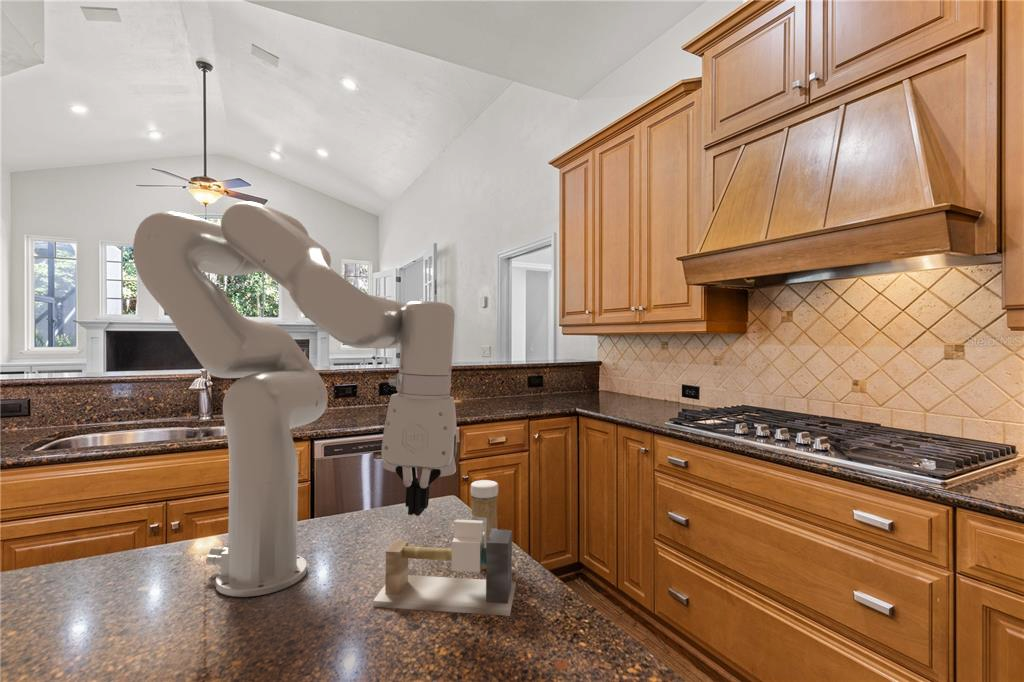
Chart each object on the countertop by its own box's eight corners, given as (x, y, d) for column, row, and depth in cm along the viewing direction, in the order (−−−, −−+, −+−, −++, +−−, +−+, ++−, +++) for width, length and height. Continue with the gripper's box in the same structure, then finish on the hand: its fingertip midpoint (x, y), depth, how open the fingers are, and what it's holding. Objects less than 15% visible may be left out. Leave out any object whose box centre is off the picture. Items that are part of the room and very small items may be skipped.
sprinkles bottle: (502, 566, 81) (503, 484, 81) (478, 573, 78) (479, 488, 78) (488, 556, 84) (489, 477, 85) (465, 562, 82) (465, 481, 82)
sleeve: (451, 570, 68) (452, 525, 69) (457, 557, 73) (458, 515, 73) (479, 572, 68) (480, 527, 68) (484, 559, 72) (485, 516, 72)
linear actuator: (372, 606, 68) (373, 541, 68) (393, 579, 76) (393, 520, 76) (509, 615, 66) (510, 548, 66) (515, 586, 74) (516, 526, 74)
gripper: (364, 384, 68) (356, 516, 68) (469, 392, 67) (461, 527, 67) (384, 381, 76) (376, 499, 76) (479, 387, 74) (471, 508, 74)
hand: (416, 512), depth 71 cm, fingers closed
